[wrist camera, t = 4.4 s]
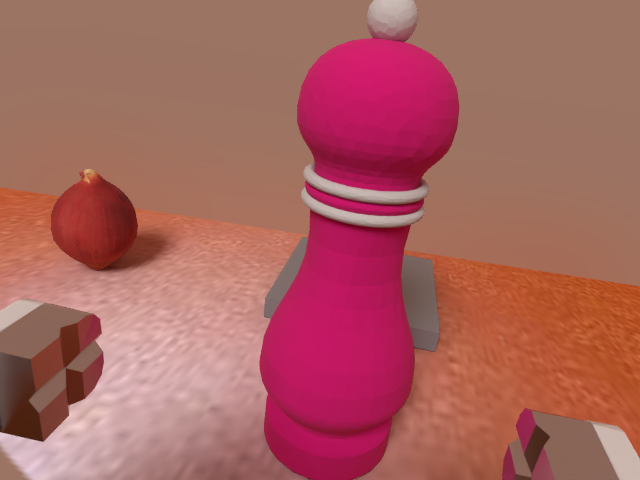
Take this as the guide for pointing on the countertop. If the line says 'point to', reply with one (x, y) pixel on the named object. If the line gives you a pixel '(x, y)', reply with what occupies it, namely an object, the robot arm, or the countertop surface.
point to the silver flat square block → (414, 288)
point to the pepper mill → (355, 248)
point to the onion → (94, 221)
